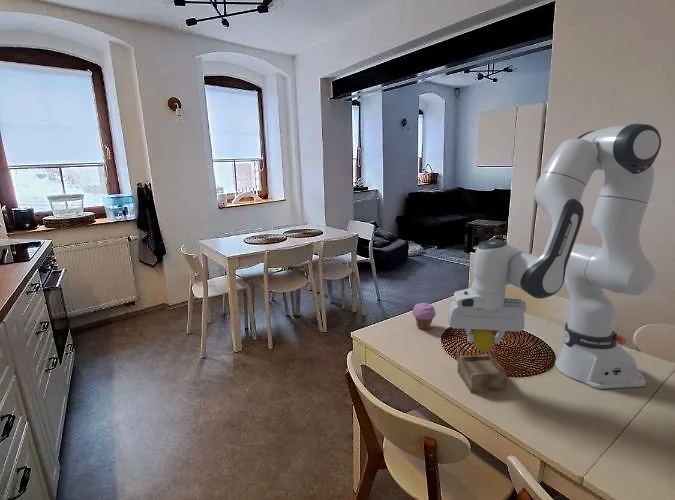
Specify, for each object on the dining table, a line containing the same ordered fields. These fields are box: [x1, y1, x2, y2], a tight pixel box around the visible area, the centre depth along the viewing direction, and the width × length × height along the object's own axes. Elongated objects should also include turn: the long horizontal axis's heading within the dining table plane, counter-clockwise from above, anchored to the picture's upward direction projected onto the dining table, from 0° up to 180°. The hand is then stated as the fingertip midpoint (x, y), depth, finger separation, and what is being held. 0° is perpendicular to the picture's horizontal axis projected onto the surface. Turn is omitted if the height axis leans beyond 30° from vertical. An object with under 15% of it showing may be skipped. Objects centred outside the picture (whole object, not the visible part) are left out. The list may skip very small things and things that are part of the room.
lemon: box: [473, 329, 495, 353], centre depth 103 cm, size 6×6×8 cm
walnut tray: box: [457, 353, 508, 394], centre depth 106 cm, size 10×10×6 cm
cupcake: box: [412, 302, 437, 331], centre depth 139 cm, size 9×9×10 cm
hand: (483, 342), depth 104 cm, fingers closed on lemon, 5 cm apart
